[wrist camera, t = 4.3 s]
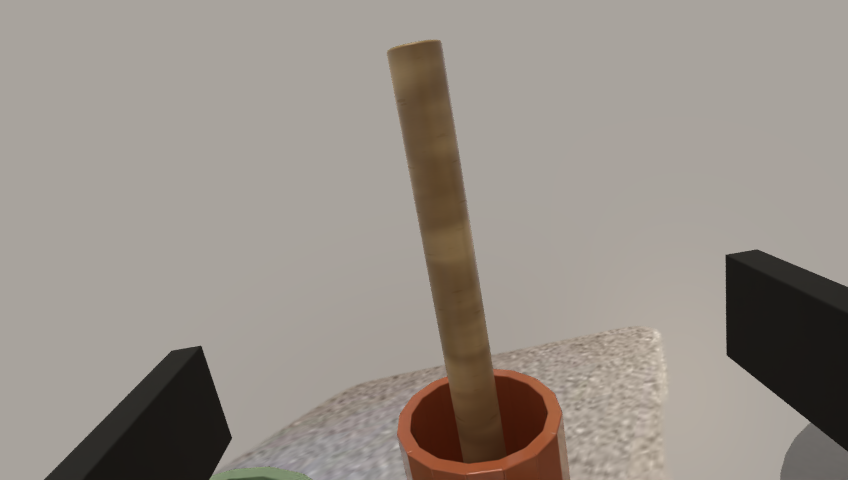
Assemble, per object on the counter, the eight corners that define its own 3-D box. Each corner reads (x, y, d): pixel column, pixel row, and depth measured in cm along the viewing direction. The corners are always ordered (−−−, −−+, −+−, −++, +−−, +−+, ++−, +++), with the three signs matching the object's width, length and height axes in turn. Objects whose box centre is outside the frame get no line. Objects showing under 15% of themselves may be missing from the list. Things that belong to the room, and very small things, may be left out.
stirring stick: (527, 547, 24) (449, 40, 18) (517, 584, 23) (427, 37, 16) (489, 538, 25) (401, 51, 19) (477, 573, 23) (376, 50, 17)
